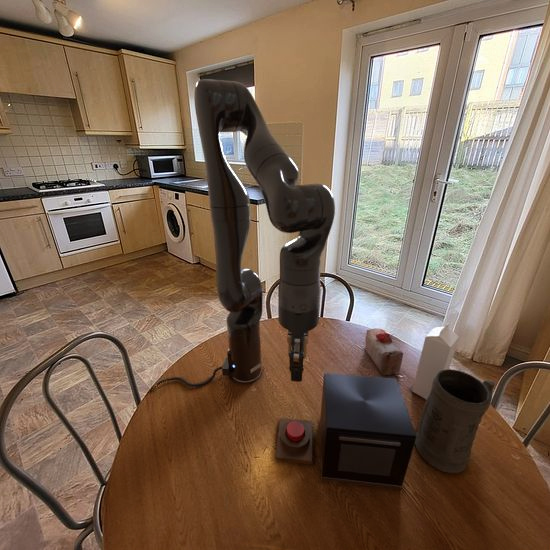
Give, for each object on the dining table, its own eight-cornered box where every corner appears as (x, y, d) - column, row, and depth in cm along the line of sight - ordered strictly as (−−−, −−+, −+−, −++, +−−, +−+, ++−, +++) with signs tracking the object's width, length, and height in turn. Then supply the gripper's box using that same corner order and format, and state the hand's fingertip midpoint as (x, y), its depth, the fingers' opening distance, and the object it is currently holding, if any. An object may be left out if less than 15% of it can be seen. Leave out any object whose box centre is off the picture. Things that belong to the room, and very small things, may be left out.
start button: (285, 441, 66) (285, 435, 65) (287, 425, 70) (287, 420, 69) (303, 442, 66) (303, 437, 65) (304, 427, 69) (304, 422, 68)
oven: (321, 481, 61) (326, 428, 54) (320, 421, 73) (323, 373, 67) (401, 490, 59) (417, 437, 52) (385, 427, 72) (396, 378, 65)
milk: (442, 392, 82) (463, 326, 72) (433, 404, 78) (454, 336, 69) (420, 380, 86) (437, 316, 76) (411, 391, 82) (428, 325, 73)
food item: (360, 347, 99) (363, 323, 95) (382, 345, 100) (386, 321, 96) (379, 376, 87) (384, 350, 83) (404, 373, 88) (410, 347, 84)
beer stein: (444, 485, 60) (476, 413, 52) (402, 441, 68) (423, 374, 60) (486, 454, 66) (520, 387, 59) (443, 418, 75) (467, 355, 67)
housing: (275, 460, 65) (275, 451, 63) (280, 421, 74) (280, 412, 72) (311, 464, 64) (312, 455, 62) (312, 424, 73) (312, 415, 71)
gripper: (282, 281, 59) (282, 349, 67) (273, 320, 47) (274, 398, 54) (319, 283, 59) (315, 351, 66) (321, 323, 46) (315, 402, 53)
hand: (296, 372), depth 60 cm, fingers open, 3 cm apart
